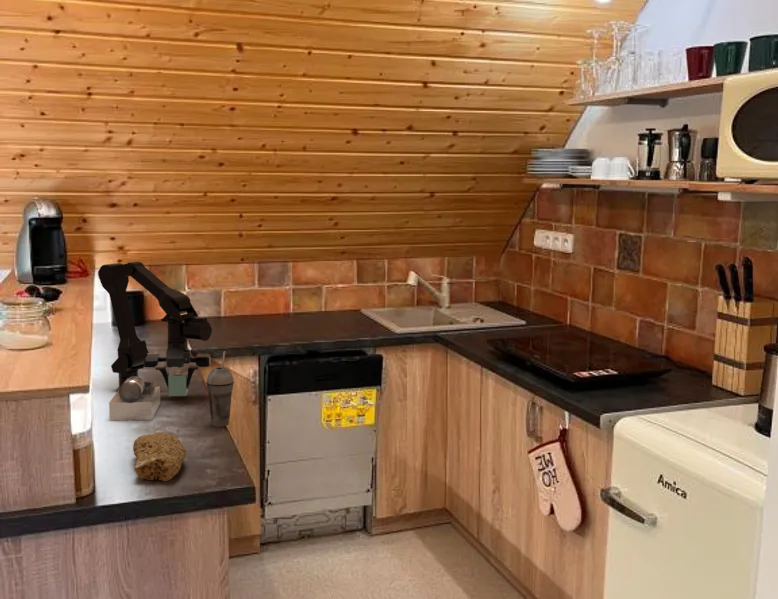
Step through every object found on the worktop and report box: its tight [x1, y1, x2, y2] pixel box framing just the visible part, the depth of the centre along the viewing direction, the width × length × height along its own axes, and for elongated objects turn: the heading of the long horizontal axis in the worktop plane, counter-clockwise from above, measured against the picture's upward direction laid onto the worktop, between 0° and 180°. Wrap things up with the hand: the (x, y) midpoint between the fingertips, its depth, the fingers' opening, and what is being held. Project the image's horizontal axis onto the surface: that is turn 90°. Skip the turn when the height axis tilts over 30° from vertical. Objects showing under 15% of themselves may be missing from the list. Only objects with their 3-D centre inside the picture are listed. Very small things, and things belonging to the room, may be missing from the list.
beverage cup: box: [205, 350, 235, 428], centre depth 204 cm, size 7×7×20 cm
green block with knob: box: [167, 369, 189, 397], centre depth 228 cm, size 5×5×7 cm
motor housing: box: [108, 376, 161, 421], centre depth 213 cm, size 16×11×11 cm
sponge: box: [132, 432, 187, 482], centre depth 173 cm, size 13×8×20 cm
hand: (178, 388), depth 228 cm, fingers closed on green block with knob, 5 cm apart
